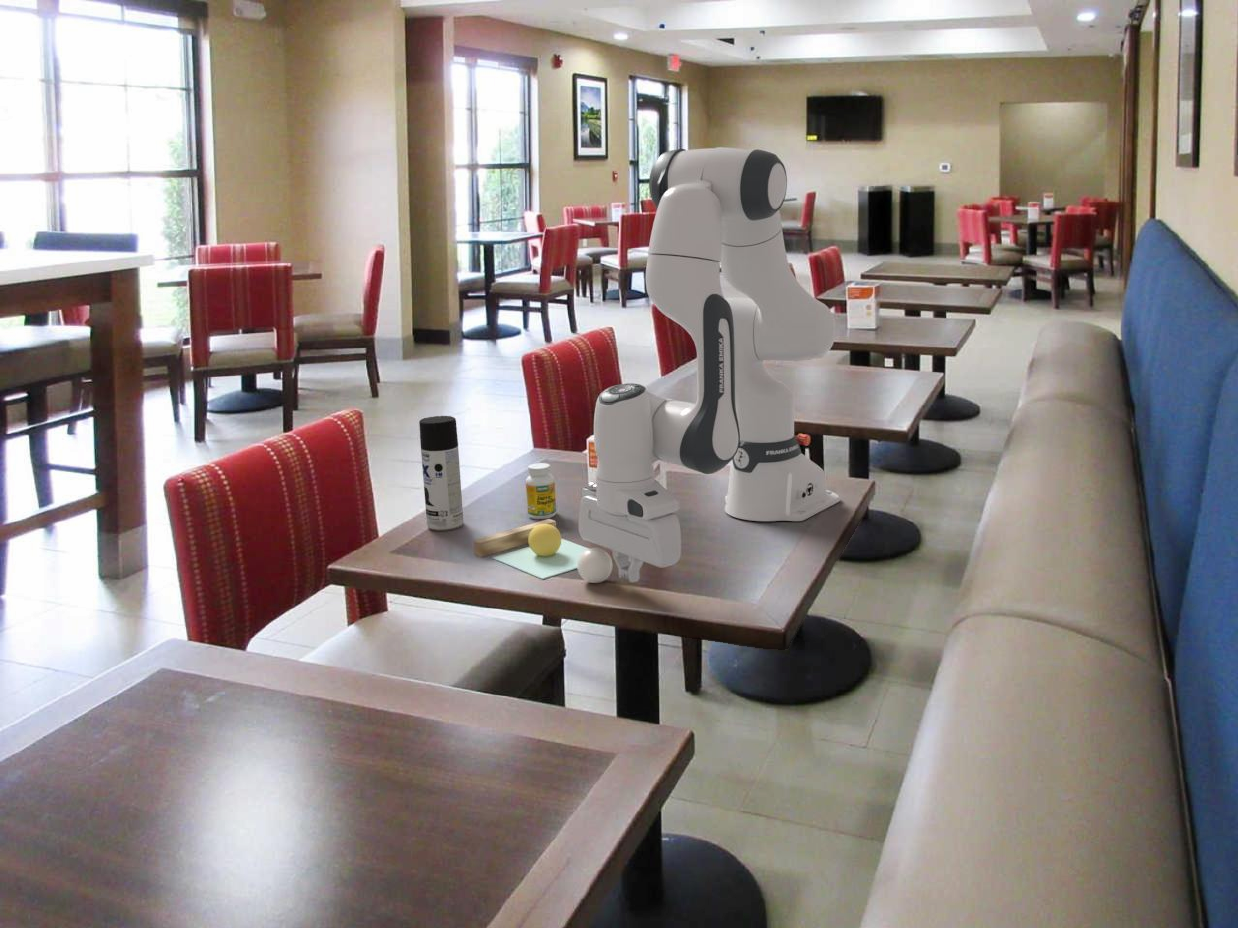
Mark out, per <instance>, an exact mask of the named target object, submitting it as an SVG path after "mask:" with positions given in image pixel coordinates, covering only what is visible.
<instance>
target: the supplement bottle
mask: <svg viewBox="0 0 1238 928" xmlns="http://www.w3.org/2000/svg"><path fill="white" fill-rule="evenodd" d="M527 468H528V476H527V477H526V479H525V490H526V493H525V494H526V503H527V515H528V517H529V518H531V519H534V520H547V519H551V518H553V517H554V516H556V514H557V497H556V484H555V483H556V482H555V477H554V476H553V475H552V474H551V465H550V464H549V463H546V462H538V463H532V464H530V465H528V466H527Z"/></svg>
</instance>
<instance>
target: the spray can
mask: <svg viewBox="0 0 1238 928" xmlns="http://www.w3.org/2000/svg"><path fill="white" fill-rule="evenodd" d="M418 423H419V439H420V440H419V442H420V455H421V456H420V457H421V466H422V477H423V490H424V503H425V514H426V515H425V516H426V525H427V527H428V528H429V530H432V531H434V532H448V531H449V532H450V531H453V530H458V529H459V528H461V527H462V526H463V525H464V511H463V497H462V496H463V494H462V483H461V482H462V480H461V470H460V469H461V468H460V453H459V452H460V451H459V441H458V429H457V420H456V418H455V417H453V416H451V415H436V416H428V417H423V418H421V419H420V420H419V422H418Z"/></svg>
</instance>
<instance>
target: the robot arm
mask: <svg viewBox="0 0 1238 928" xmlns="http://www.w3.org/2000/svg"><path fill="white" fill-rule="evenodd" d="M785 167H786V166H785V165H784V163H783V162H782V160H781V159H780V158H779V157H778V155H777V154H775V153H773V152H769V151H766V150H762V149H758V148H757V149H754V150H750V149H744V148H736V147H721V146H719V147H713V148H711V147H708V148H694V149H684V148H676V149H673V150H668V151H664V152H663V153H662V154H660V156H659V157H658V158H657V159H656V160H655V162H654V163H653V165H652V167H651V169H650V173H649V181H648V183H649V184H648V189H649V195H650V199H651V201H652V202H653V205H654V207H655V208H656V212H655V215H654V220H653V223H652V229H651V232H650V239H649V245H648V251H647V258H646V259H647V261H646V269H645V286H646V287H645V289H646V293H647V295H648V297H649V299H650V301H651V302H652V304H653V305H654V306H655V307H656V308H657V310H658V311H659V312H661V314H662V315H664V316H666V317H667V318H668V319H671V321H673V322H675V323H676V324H678V325H680V326H681V327H682V328H683V329H684V330H685V331H686V332H687V333H688V334H689V335H690V337H691V339H692V341H693V342H694V345H695V350H696V381H697V382H696V383H697V384H696V390H697V391H696V392H697V395H696V396H697V397H696V403H694V402H689V401H682V400H681V401H680V400H679V399H678V400H677V399H673V398H667V397H663V396H660V395H658V394H654V393H652V392H650V391H649V390H648V389H647V387H645V386H644V385H642V384H639V383H631V382H630V383H623V384H616V385H612V386H609V387H608V388H605V389H604V390H602V391H601V393H599V395H598V396H597V398H596V402H595V408H594V415H593V417H594V418H593V441H594V442H593V443H594V444H593V445H594V450H595V453H596V458H597V466H596V470H595V482H588V483H587V484H586V485H584V486H583V488H582V490H581V494H582V495H581V496H582V497H581V499H580V503H579V509H578V510H579V511H578V513H579V514H578V532H579V535H580V538H581V539H582V540H584V541H586V542H589V543H592V544H595V545H597V546H600V547H603V548H606V549H609V550H611V551H612V553H611V554H612V555H611V556H612V557H613V560H614V562H615V564H616V566H617V569H618V577H619V578H620V579H622V580H624V581H627V582H631V583H636V582H638V581H640V578H641V577H640V570H641V568H642V566H643V564H644V562H645V563H647V564H650V565H651V566H652V565H653V566H655V567H658V568H661V569H663V568H666V567H670V566H672V565H675V564H676V563H678V562H679V560H680V559H681V555H682V537H681V535H682V534H681V526H680V525H681V524H680V521H679V518H678V516H677V515H676V514H675V513H676V512H678V511H679V509H680V500H679V498H678V497H677V496H676V495H674V494H673V493H672V492H670V491H669V490H668V489H666V488H665V487H664V486H663V485H662V484H661V483H660V482H659V481H658V480H656V477H655V467H654V465H653V464H654V463H655V462H657V461H660V462H663V463H668V464H672V465H677V466H681V467H685V468H687V469H690V470H692V471H695V472H698V473H701V474H703V475H711V474H714V473H717V472H719V471H720V470H722V469H723V468H725V467H726V466H727V465H728V464H729V463H730V466H729V475H728V488H727V489H728V490H727V494H725V497H724V502H725V506H724V512H725V513H726V514H728V515H729V516H731V517H732V518H733V517H734V518H736V519H740V520H746V521H754V522H777V521H779V522H780V521H788V522H802V521H805V520H807V519H809V518H810V517H813V516H815V515H816V514H818V513H820V512H822V511H824V510H826V509H828V508H829V507H831V506H834V505H835V504H837V503H839V502H840V496H839V495H838V494H837V493H836V492H833V491H831V490H828V489H827V486H828V485H827V476H826V473H825V471H824V470H823V468H821V466H819V465H818V464H817V463H815V462H814V461H812V460H811V459H809V458H808V457H807V456H806V455H805V454H803V453H802V450H801V447H800V445H803V446H804V447H805V446H806V447H807V446H809V445H810V443H811V439H812V438H811V436H810V435H809V434H803V433H798V434H797V435H796V434H795V397H794V394H793V393H792V391H791V389H790V388H789V387H788V386H787V385H786V384H785V383H784V382H782V381H780V380H779V379H776V378H775V377H773V376H772V375H771V374H770V373H769V372H768V371H767V369H766V368H765V365H764V363H763V362H764V361H765V362H767V361H768V362H790V363H791V362H792V363H797V362H798V363H799V362H804V361H812V360H816V359H822V358H823V357H824V356H826V355H827V354H828V353H829V351H830V350H831V349H832V347H833V346H834V343H835V340H836V336H837V335H836V334H837V324H836V320H835V317H834V315H833V312H832V311H831V309H830V308H829V306H827V305H826V304H825V303H824V302H822V301H820V300H818V299H817V298H815V297H814V296H813V295H812V294H810V293H809V292H808V291H806V289H805V288H804V287H803V286H802V285H801V283H800V282H799V281H798V279H797V278H796V276H795V275H794V273H793V271H792V270H791V269H792V268H791V267H790V264H789V260H788V256H787V251H786V247H785V240H784V239H785V238H784V234H783V233H784V231H783V226H782V218H781V212H780V209H781V208H782V206H783V204H784V202H785V199H786V195H787V190H788V189H787V188H788V178H787V171H786V168H785ZM720 270H721V273H722V276H723V278H724V279H725V281H726V282H727V284H729V286H730V287H731V288H734V290H736V291H739V292H740V293H741V294H744V295H745V296H747V297H724V293H723V290H722V287H721V280H720V279H721V276H720Z"/></svg>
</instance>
